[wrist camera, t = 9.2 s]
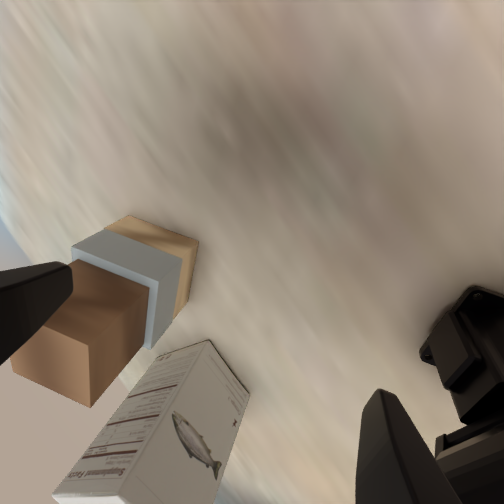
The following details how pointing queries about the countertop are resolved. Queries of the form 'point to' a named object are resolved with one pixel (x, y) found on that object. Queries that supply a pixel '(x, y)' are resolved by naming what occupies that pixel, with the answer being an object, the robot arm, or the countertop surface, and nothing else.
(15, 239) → the countertop surface
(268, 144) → the countertop surface
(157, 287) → the tower mid
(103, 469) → the supplement box
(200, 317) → the countertop surface
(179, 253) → the tower base
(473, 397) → the robot arm
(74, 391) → the walnut cube
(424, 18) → the countertop surface
